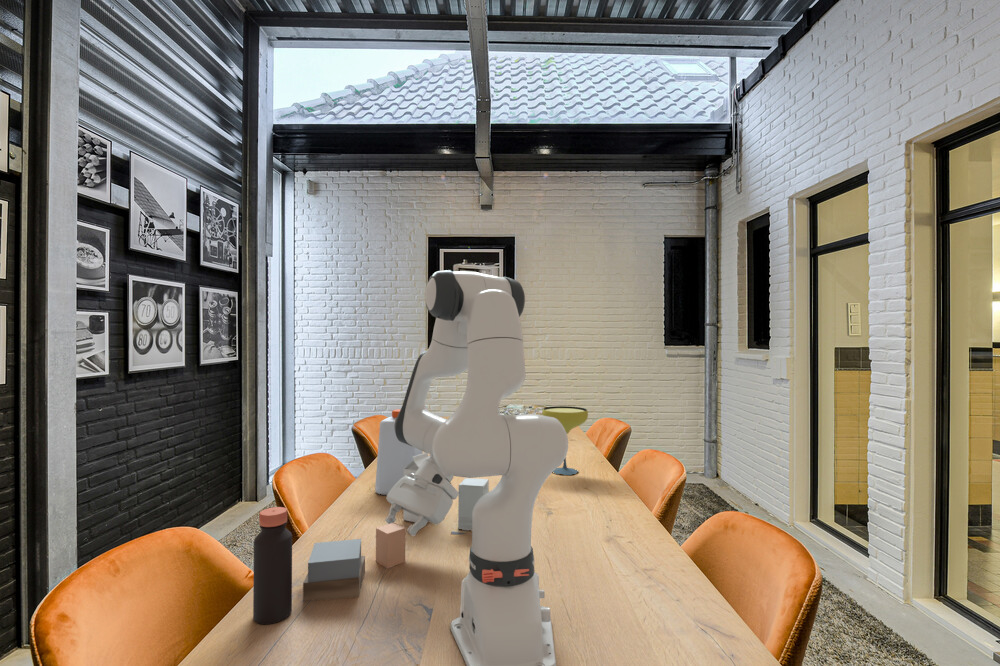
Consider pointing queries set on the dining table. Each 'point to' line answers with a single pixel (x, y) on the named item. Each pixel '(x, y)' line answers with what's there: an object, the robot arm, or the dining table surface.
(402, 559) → the terracotta block
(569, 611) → the dining table surface
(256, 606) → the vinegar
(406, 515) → the milk carton
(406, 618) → the dining table surface
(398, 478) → the plastic bottle
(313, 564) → the tower top block
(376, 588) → the dining table surface
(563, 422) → the cocktail glass
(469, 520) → the supplement box
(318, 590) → the tower base block
